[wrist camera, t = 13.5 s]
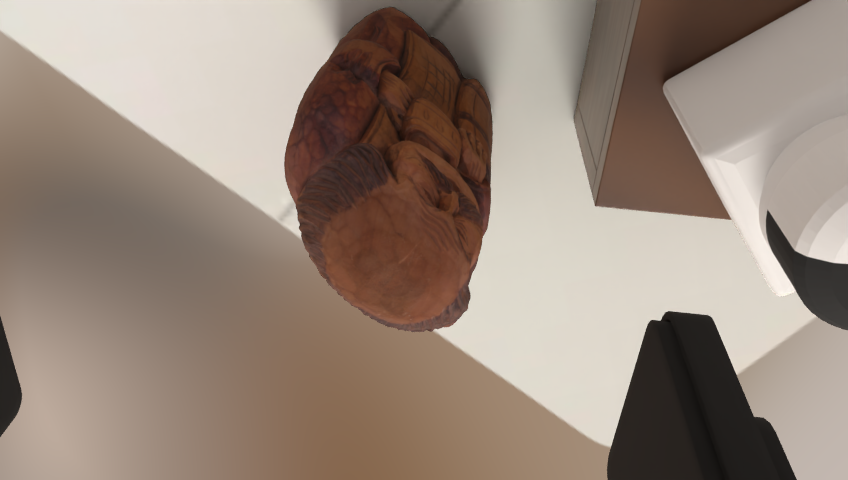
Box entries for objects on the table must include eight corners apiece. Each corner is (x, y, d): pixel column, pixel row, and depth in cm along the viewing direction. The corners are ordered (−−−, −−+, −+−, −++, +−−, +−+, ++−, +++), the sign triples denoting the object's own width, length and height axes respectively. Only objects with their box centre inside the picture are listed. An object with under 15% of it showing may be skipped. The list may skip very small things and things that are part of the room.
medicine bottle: (890, 131, 31) (1085, 301, 21) (725, 209, 34) (829, 395, 23) (832, -16, 28) (1026, 99, 18) (657, 82, 31) (742, 230, 21)
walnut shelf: (613, -85, 37) (651, -45, 28) (878, -61, 36) (997, -13, 28) (573, 121, 43) (594, 206, 34) (801, 144, 42) (880, 235, 34)
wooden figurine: (529, 135, 43) (551, 328, 28) (447, 197, 46) (426, 406, 30) (390, -23, 39) (326, 103, 24) (308, 55, 42) (203, 214, 26)
